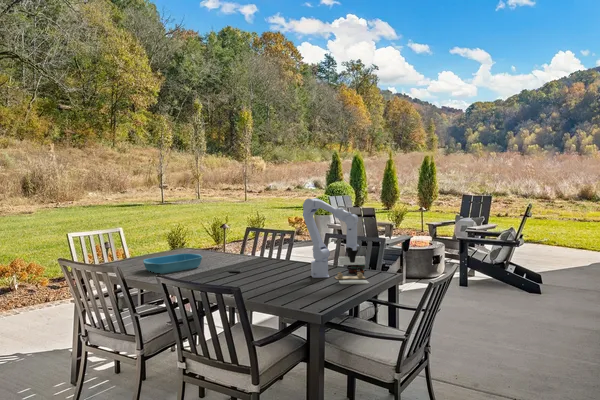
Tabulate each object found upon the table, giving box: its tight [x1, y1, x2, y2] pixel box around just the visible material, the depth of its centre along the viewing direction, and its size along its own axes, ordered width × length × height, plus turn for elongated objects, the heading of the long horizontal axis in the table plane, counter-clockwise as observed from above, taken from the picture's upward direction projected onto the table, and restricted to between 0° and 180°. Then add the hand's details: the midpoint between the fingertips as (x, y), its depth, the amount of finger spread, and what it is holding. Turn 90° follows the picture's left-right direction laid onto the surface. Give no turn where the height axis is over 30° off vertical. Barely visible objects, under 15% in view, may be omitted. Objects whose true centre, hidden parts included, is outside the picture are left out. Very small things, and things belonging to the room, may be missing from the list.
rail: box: [338, 255, 366, 266], centre depth 232 cm, size 14×3×4 cm, turn 95°
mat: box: [338, 279, 370, 285], centre depth 227 cm, size 15×6×1 cm, turn 95°
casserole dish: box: [142, 252, 203, 275], centre depth 261 cm, size 37×22×7 cm, turn 139°
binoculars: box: [346, 254, 366, 275], centre depth 250 cm, size 9×11×10 cm
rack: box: [334, 271, 366, 280], centre depth 237 cm, size 16×5×3 cm, turn 95°
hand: (351, 261), depth 232 cm, fingers closed on rail, 3 cm apart
